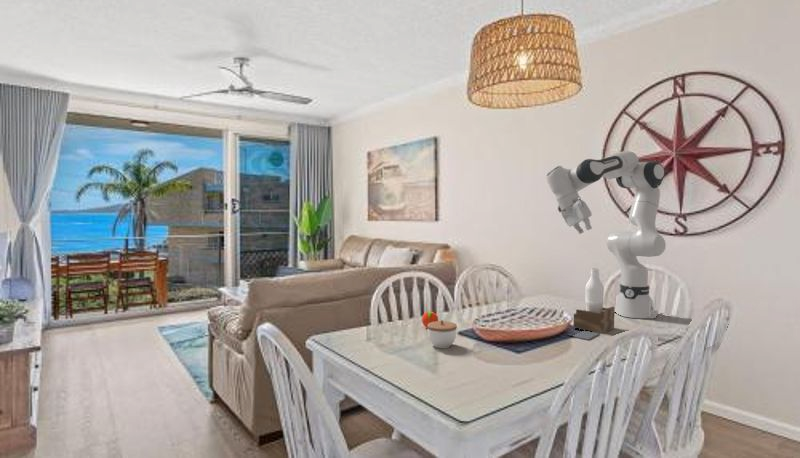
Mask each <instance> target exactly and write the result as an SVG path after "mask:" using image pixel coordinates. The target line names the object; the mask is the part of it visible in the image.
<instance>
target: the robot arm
mask: <svg viewBox="0 0 800 458" xmlns="http://www.w3.org/2000/svg"><path fill="white" fill-rule="evenodd" d="M665 174H666V172H665V167H664V165H663V164H662V163H661V162H659V161H655V160H653V161H647V162H639V157H638V155H637V154H636V153H635V152H633V151H630V150H627V151H626V150H623V151H618V152H615V153H612V154H608V155H607V156H605V157H603V158H602V159H592V158H587V159H584V160H583V161H582V162H580V163H579V164H577V165H576V166H575V167H574V168H572V169H569V168H565V167H563V166H562V165H559V166H556V167H555V168H553V169H552V170H550V171H549V172H547V174H546V180H547V184H548V185H549V188H550V190H551V191H552V193H553V194H554V195H555V196H554V197H555V198H556V201H557V203H558V205H557V211H558V212H559V213H561V216H562V218H563V220H564V222H565V224H566V225H567V226H569V227H572V226H573V228H574V229H575V230H576V231H577V233H578V234H579V235H581V234H583V233H584V229H583V228H582V227H581V226H580V223H581V222H583V223H584V228H585V229H586V231H589V230H592V228H593V227H592V225H591V220H590V217H592V215H593V214H592V211H591V210H590V208H589V206H588V205H587V203H586V202H585V200H582V199H581V197H580V195H579V193H578V192H580V191H581V190H583V189H585V188H587V187H588V186H590V185H592V184H594V183H596V182H598V181H599V180H601V178H603V177H604V178H605V179H608V180H611V179H612V180H614V179H615V181H616V184H617V185H618V186H619V187H620V188H622V189H632V188H633V189H634V188H635V194H634V197H633V199H632V203H631V206H630V211H629V215H628V220H629V223H631V224H632V225H633V226H635V227H636V228H637V229H636V231H617V232H611V233H610V235H609V236H608V237H607V240H606V246H607V249H608V250H609V252H611V253H612V254H613V255H614V256H615V258H616V259H617V262H618V263H619V267H620V284H619V292H620V293H618V294H616V298H615V300H616V301H615V308H614V312H616V313H617V314H616V313H615V314H616V315H618V314H619V315H618V316H620V315H621V317H625V318H631V319H654V318H655V319H657V317H658V314H659V310H657V309H654V300H653V299H652V297H651V295H650V289H651V287H650V285H649V283H648V282H649V281H648V280H649V277H648V276H649V271H648V268H647V267H646V266H645V265H643V264H642V263H641V262H639V260H638V258H637V257H646V258H650V257H660V256H661V255H662V254H663V253H664V252H665V250H666V246H667V245H666V244H667V243H666V240H665V238H664V237H663V236H662V234H660V233H659V232H658V230H657V228H656V218H657V214H658V209H659V205H660V198H661V191H660V188H659V186H661V185H662V182H663V180H664V178H665ZM656 316H657V317H656Z"/></svg>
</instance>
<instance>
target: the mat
mask: <svg viewBox="0 0 800 458" xmlns="http://www.w3.org/2000/svg"><path fill="white" fill-rule="evenodd" d="M600 335H601V333H596V332H590V331H585V330H584V331H582V332H580V333H577V334H575V335H573V336H574V337H577V338H576V339H579V338H580V339H579V340H583V341H590V340H592V339H594V338H596V337H598V336H600ZM574 337H573V338H574Z"/></svg>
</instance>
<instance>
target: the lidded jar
mask: <svg viewBox="0 0 800 458" xmlns="http://www.w3.org/2000/svg"><path fill="white" fill-rule="evenodd" d="M427 327H428V328H427ZM427 327H426V328H427V335H428V340H429V341H430V343H431V344H432V345H433V347H435V348H438V349H447V348H450V347H451V345H453V344H454V342H455V340H456V338H457V327H458V326H457V323H455V322H451V321H445V320H444V319H440V321H439V320H438V321H436V322H431V323H429V324H428V325H427Z"/></svg>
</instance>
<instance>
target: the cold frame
mask: <svg viewBox="0 0 800 458" xmlns="http://www.w3.org/2000/svg"><path fill="white" fill-rule="evenodd" d="M614 309H616V306H610V307H603V308H602V311H601V313H597V312H591V311H586V309H575V310H576V311H575V313H574V314H573V328H574V327H577V328H581V329H585V330H589V331H592V332H595V333H600V335H603V334H606V333H607V332H610V331H611V330H613V329H615V313H614ZM585 330H584V331H585Z"/></svg>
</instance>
